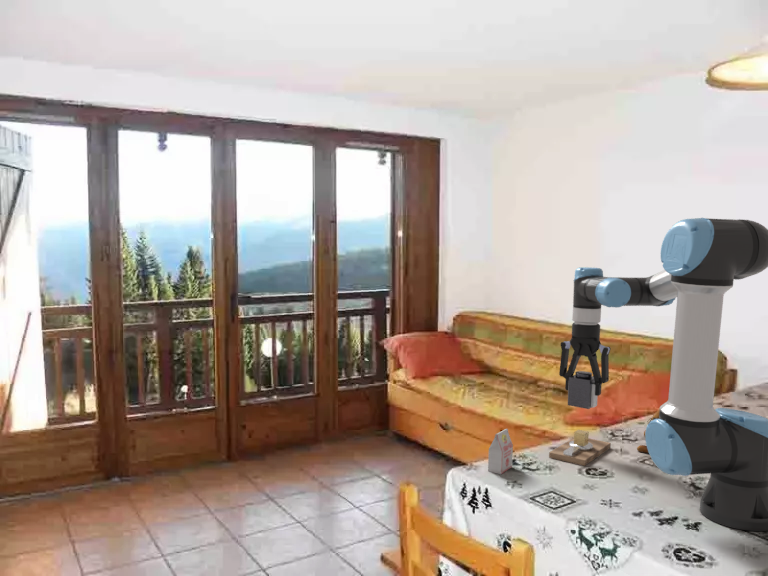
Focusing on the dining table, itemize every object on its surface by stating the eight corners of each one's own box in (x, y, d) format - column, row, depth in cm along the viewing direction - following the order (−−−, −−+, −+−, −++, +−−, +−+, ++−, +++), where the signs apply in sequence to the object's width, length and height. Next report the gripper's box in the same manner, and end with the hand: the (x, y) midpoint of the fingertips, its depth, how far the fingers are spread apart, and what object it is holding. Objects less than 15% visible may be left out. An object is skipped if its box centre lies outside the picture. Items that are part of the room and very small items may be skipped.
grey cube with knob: (588, 409, 179) (590, 376, 179) (567, 405, 183) (569, 372, 182) (596, 404, 184) (598, 372, 183) (576, 401, 188) (577, 369, 187)
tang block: (584, 465, 174) (585, 443, 173) (549, 457, 180) (549, 436, 179) (610, 447, 189) (611, 427, 189) (577, 440, 195) (578, 421, 195)
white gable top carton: (487, 471, 168) (489, 433, 168) (499, 464, 174) (500, 427, 173) (501, 474, 166) (502, 435, 165) (512, 467, 172) (513, 429, 171)
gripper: (625, 325, 179) (620, 407, 181) (559, 318, 190) (555, 396, 192) (615, 327, 173) (611, 413, 175) (548, 320, 185) (545, 400, 187)
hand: (582, 404), depth 184 cm, fingers closed on grey cube with knob, 6 cm apart
